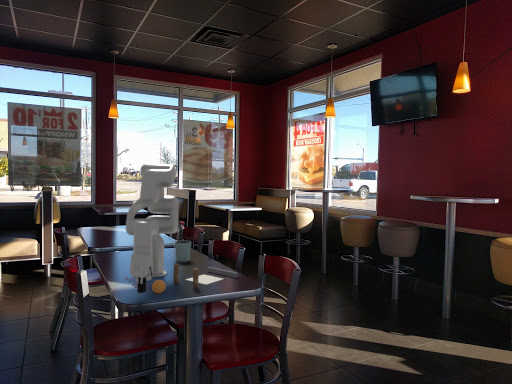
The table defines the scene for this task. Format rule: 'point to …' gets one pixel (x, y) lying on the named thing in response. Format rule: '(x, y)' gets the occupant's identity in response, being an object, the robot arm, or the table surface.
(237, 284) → the table surface
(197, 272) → the right post
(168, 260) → the table surface
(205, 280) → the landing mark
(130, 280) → the signage
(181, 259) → the pale green bucket
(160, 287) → the ball
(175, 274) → the left post
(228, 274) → the wall
